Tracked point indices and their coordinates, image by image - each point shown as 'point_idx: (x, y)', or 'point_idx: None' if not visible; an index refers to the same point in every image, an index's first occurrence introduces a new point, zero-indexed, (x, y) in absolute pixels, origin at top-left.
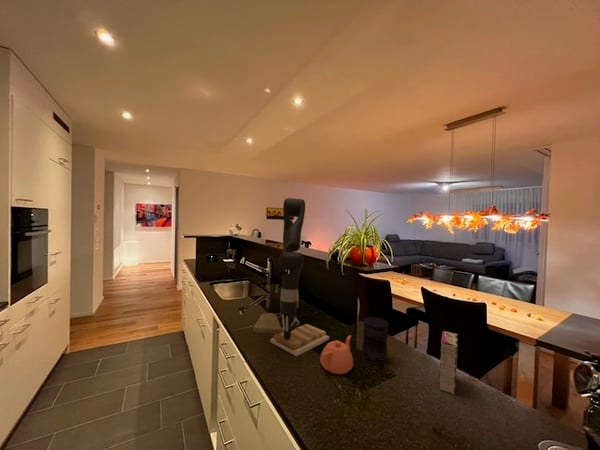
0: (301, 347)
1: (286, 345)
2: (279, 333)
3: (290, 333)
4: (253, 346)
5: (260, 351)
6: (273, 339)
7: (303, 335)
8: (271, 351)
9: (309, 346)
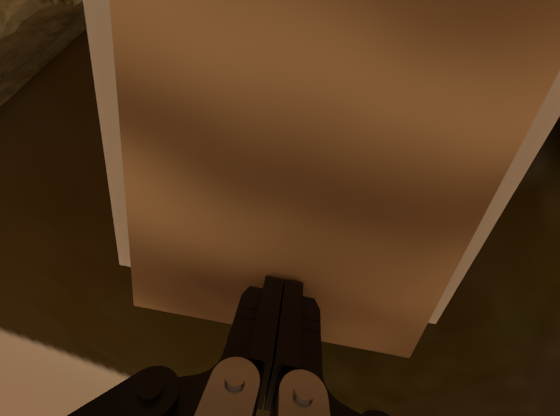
0: None
1: None
2: (35, 68)
3: (320, 355)
4: (117, 335)
5: (193, 353)
6: None
7: (400, 67)
8: None
9: (521, 174)
